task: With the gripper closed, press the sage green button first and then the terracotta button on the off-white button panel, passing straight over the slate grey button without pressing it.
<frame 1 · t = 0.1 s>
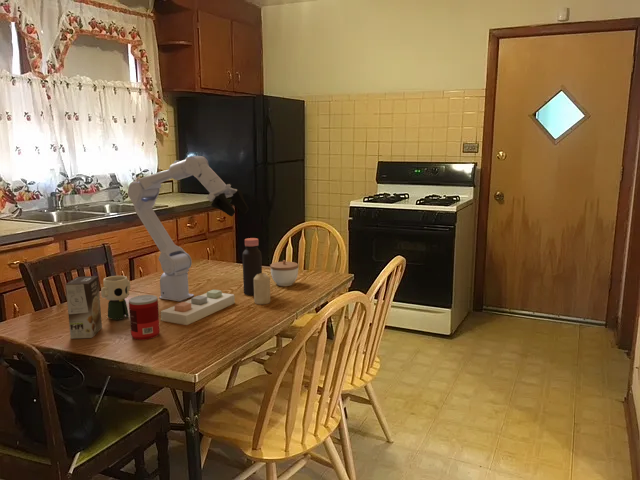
hand: (240, 212, 180), 32 cm above the table, tool tilted 50°, fingers open, 7 cm apart
bottle: (253, 293, 203), on the table
coffee box: (86, 333, 163), on the table
button panel: (199, 311, 182), on the table
sage button: (214, 295, 188), point 3 cm above the table, slide at 0.0 cm
terracotta button: (183, 308, 174), point 3 cm above the table, slide at 0.0 cm
candle: (262, 302, 192), on the table
canned food: (145, 336, 160), on the table
lidded jar: (284, 284, 215), on the table
character mug: (118, 318, 176), on the table
slate button: (199, 301, 181), point 3 cm above the table, slide at 0.0 cm
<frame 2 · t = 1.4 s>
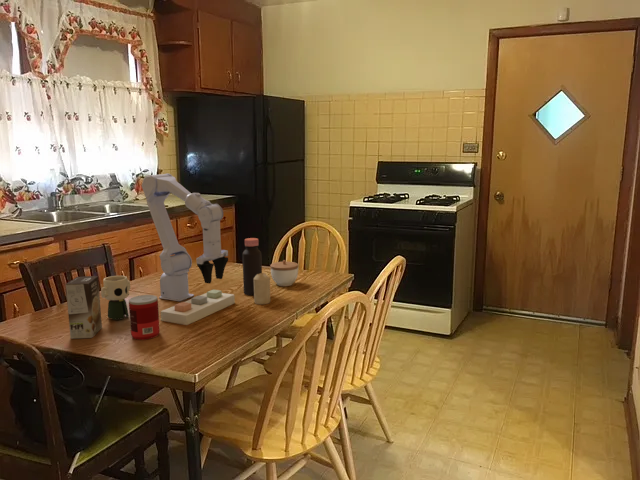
hand: (213, 280, 187), 8 cm above the table, tool pointing down, fingers open, 6 cm apart
nothing on the table moved.
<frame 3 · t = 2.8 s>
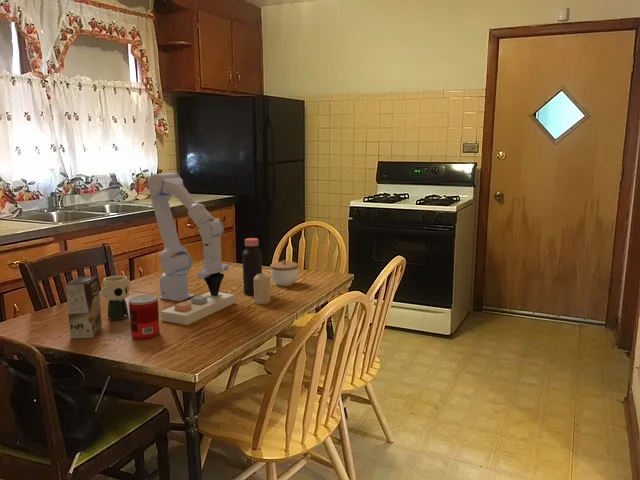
hand: (214, 295, 188), 3 cm above the table, tool pointing down, fingers closed, pressing on sage button
sage button: (214, 299, 189), point 2 cm above the table, slide at 1.3 cm, touching gripper
everything else where it was.
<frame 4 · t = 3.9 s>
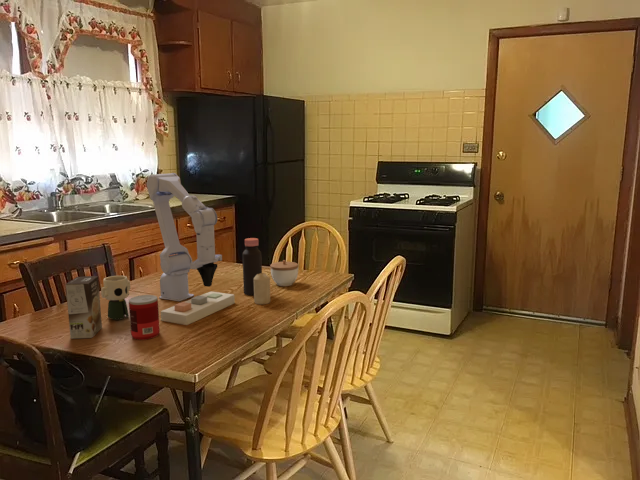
hand: (207, 286, 185), 7 cm above the table, tool pointing down, fingers closed
sage button: (214, 299, 189), point 2 cm above the table, slide at 1.3 cm
everything else where it was.
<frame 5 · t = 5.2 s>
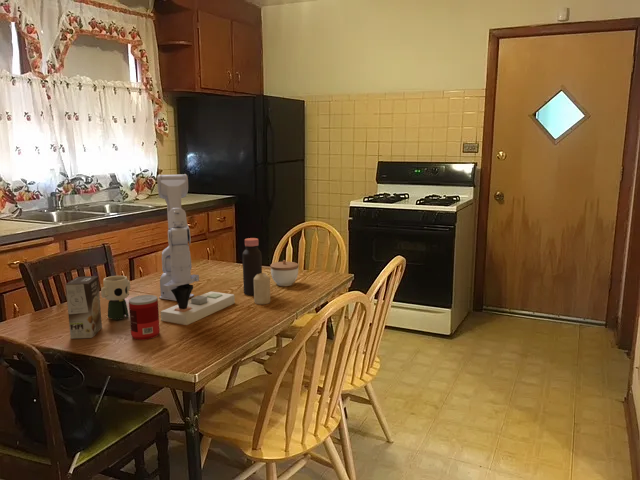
hand: (183, 308, 174), 3 cm above the table, tool pointing down, fingers closed, pressing on terracotta button
terracotta button: (183, 312, 175), point 2 cm above the table, slide at 1.3 cm, touching gripper
everything else where it was.
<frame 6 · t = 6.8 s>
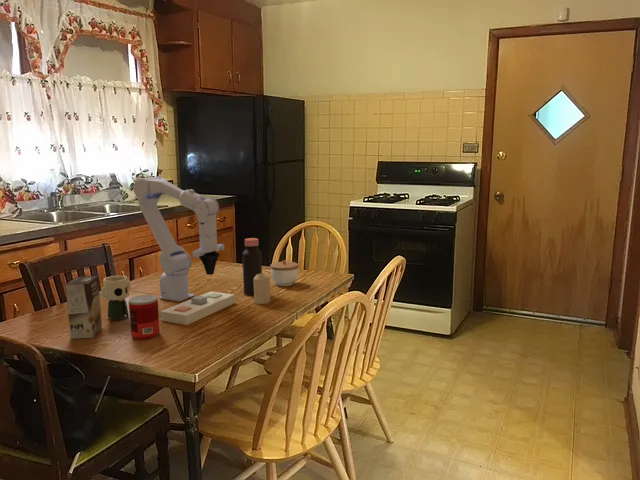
hand: (210, 274, 190), 10 cm above the table, tool pointing down, fingers closed
terracotta button: (183, 312, 175), point 2 cm above the table, slide at 1.3 cm
everything else where it was.
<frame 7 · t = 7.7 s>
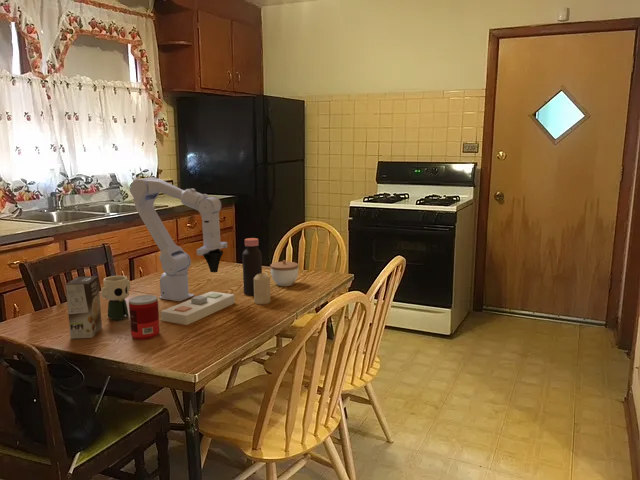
hand: (214, 271, 191), 10 cm above the table, tool pointing down, fingers closed
nothing on the table moved.
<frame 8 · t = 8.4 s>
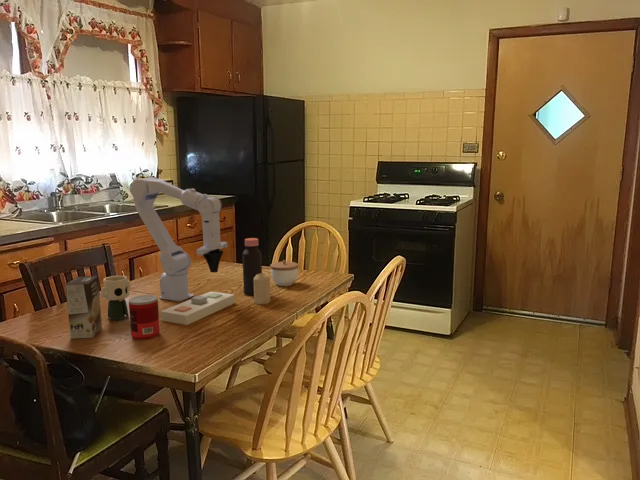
hand: (214, 271, 191), 10 cm above the table, tool pointing down, fingers closed
nothing on the table moved.
at the end: sage button slide at 1.3 cm; terracotta button slide at 1.3 cm; slate button slide at 0.0 cm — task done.
